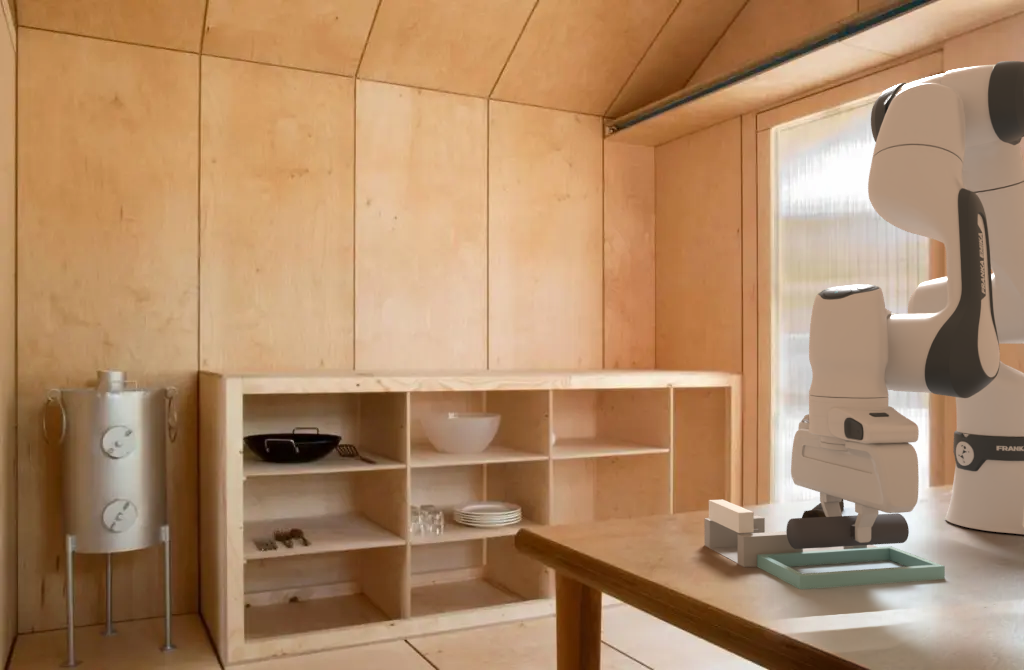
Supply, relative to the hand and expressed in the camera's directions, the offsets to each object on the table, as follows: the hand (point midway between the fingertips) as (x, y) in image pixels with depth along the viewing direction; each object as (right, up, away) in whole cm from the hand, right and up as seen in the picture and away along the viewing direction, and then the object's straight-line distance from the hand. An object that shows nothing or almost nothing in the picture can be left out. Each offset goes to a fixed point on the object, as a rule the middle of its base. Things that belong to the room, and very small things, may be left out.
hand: (848, 536), depth 102 cm
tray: (0, -6, 0) cm, 6 cm away
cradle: (-2, -6, +10) cm, 12 cm away
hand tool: (+9, -6, +33) cm, 34 cm away
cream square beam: (-12, -1, +8) cm, 14 cm away
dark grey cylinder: (0, -1, 0) cm, 1 cm away
